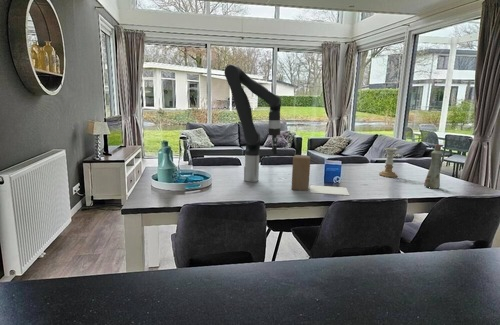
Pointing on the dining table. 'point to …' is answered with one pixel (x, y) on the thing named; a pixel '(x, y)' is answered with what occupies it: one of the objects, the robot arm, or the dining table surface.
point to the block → (300, 172)
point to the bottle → (434, 169)
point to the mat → (329, 190)
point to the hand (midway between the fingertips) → (274, 153)
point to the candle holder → (389, 163)
